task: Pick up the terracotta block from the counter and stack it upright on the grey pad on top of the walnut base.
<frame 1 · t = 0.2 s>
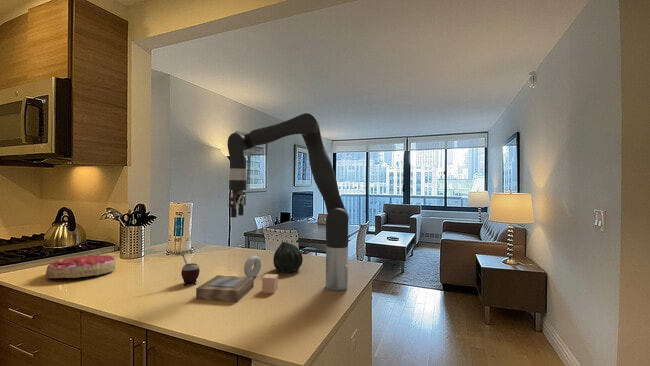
hand: (237, 216, 129), 28 cm above the worktop, tool pointing down, fingers open, 8 cm apart
walnut base: (226, 292, 115), on the worktop
donut: (252, 278, 135), on the worktop
squash: (287, 270, 147), on the worktop
cake: (82, 274, 135), on the worktop
terracotta block: (270, 290, 118), on the worktop
mate gourd: (189, 284, 125), on the worktop
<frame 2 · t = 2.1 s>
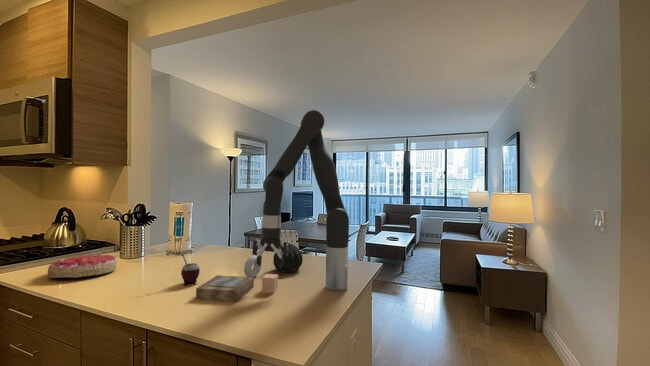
hand: (269, 266, 119), 10 cm above the worktop, tool pointing down, fingers open, 8 cm apart
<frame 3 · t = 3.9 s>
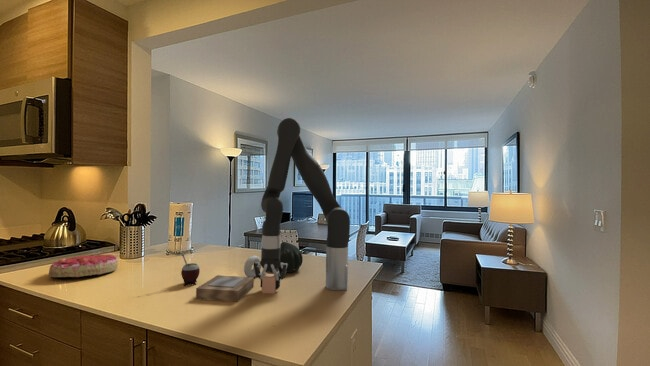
hand: (270, 288, 118), 1 cm above the worktop, tool pointing down, fingers closed on terracotta block, 5 cm apart
terracotta block: (270, 290, 118), on the worktop, touching gripper
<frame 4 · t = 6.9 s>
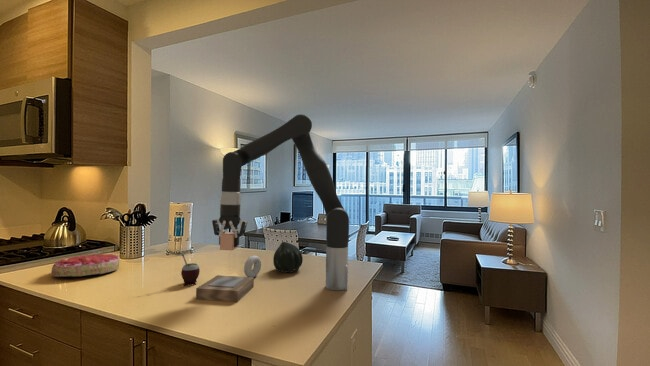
hand: (228, 246, 116), 18 cm above the worktop, tool pointing down, fingers closed on terracotta block, 5 cm apart
terracotta block: (228, 248, 116), point 17 cm above the worktop, touching gripper
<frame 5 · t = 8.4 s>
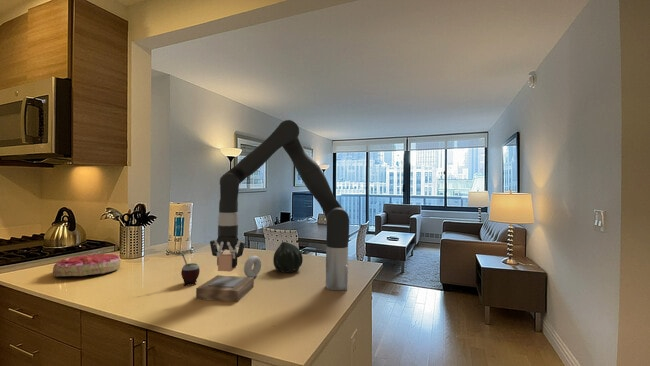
hand: (227, 266, 116), 10 cm above the worktop, tool pointing down, fingers closed on terracotta block, 5 cm apart
terracotta block: (227, 269, 116), point 9 cm above the worktop, touching gripper
when the fingers open (7 cm above the worktop, at t = 9.9 s): terracotta block drops 2 cm, resting on walnut base.
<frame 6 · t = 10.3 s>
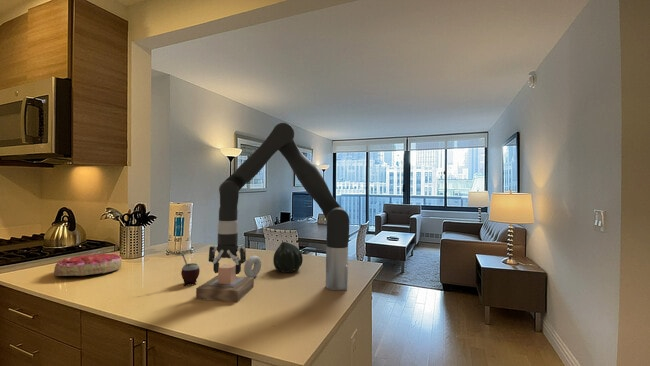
hand: (226, 273, 115), 8 cm above the worktop, tool pointing down, fingers open, 8 cm apart
terracotta block: (227, 281, 115), point 4 cm above the worktop, touching walnut base
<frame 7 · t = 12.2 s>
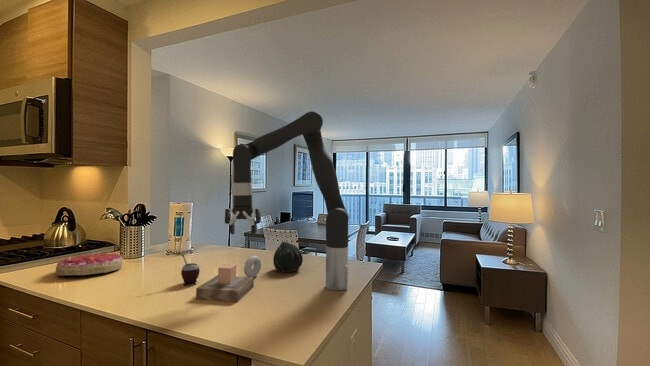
hand: (242, 234, 119), 22 cm above the worktop, tool pointing down, fingers open, 8 cm apart
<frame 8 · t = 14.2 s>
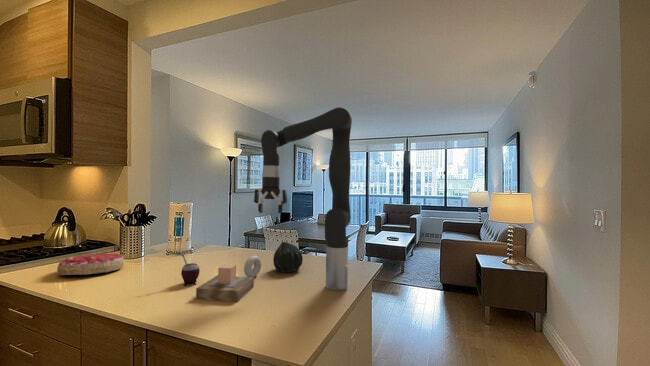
hand: (270, 213, 130), 30 cm above the worktop, tool pointing down, fingers open, 8 cm apart
at the end: terracotta block inside the target area on the walnut base (0.1 cm from its centre), point 4.3 cm above the walnut base's base; terracotta block tilted 0°; the gripper is holding nothing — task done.
